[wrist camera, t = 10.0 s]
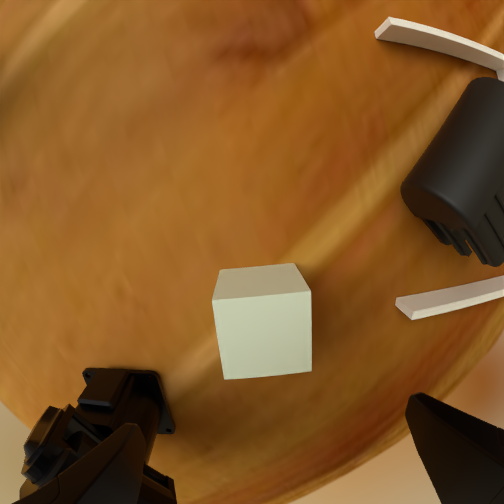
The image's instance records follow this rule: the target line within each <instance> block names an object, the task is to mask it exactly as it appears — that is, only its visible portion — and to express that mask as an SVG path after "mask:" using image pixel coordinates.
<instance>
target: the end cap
mask: <svg viewBox="0 0 504 504" xmlns="http://www.w3.org/2000/svg"><path fill="white" fill-rule="evenodd" d="M401 195H402V198H403V200H404V202H405V203H406V205H407V206H408V208H409V209H410V211H411V212H412V213H413V214H414V216H416V217H420V218H421V219H422V220H423V221H424V223H425V224H426V225H427V226H428V227H429V229H430V230H431V231H432V232H433V233H434V235H435V236H436V237H437V238H438V240H439V241H440V242H441V243H443V244H445V245H450V244H452V245H453V246H454V248H455V249H456V250H457V252H459V254H460V255H466V256H470V254H471V253H472V251H471V250H470V248H469V247H468V245H467V244H466V242H465V240H467V241H468V243H469V244H470V246H471V247H472V249H473V250H474V252H475V253H476V255H477V256H478V258H479V260H480V261H481V263H482V264H484V265H485V264H488V265H490V266H493V267H497V266H500V265H501V264H502V263H503V262H504V82H503V81H501V80H498V79H495V78H491V77H481V78H476V79H474V80H472V81H471V82H470V83H469V84H468V86H467V87H466V89H465V91H464V92H463V94H462V95H461V97H460V99H459V100H458V102H457V103H456V105H455V107H454V108H453V110H452V111H451V113H450V114H449V116H448V118H447V119H446V121H445V122H444V124H443V125H442V127H441V128H440V130H439V131H438V133H437V134H436V136H435V137H434V139H433V140H432V142H431V143H430V145H429V146H428V147H427V149H426V150H425V152H424V153H423V155H422V156H421V158H420V159H419V160H418V162H417V163H416V165H415V166H414V167H413V169H412V170H411V172H410V173H409V174H408V176H407V177H406V178H405V180H404V181H403V183H402V185H401Z"/></svg>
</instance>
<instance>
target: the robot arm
mask: <svg viewBox="0 0 504 504" xmlns="http://www.w3.org/2000/svg"><path fill="white" fill-rule="evenodd" d="M82 374H83V377H84V380H85V382H86V384H87V386H86V388H85V389H84V391H83V392H82V394H81V395H80V397H79V398H78V400H77V401H78V403H79V404H78V405H77V407H76V409H75V408H74V407H73V406H71V405H70V404H68V405H67V406H66V407H65V408H63V409H60V408H59V409H58V408H55V407H52V406H49V407H48V408H47V409H46V410H45V412H44V413H43V415H42V416H41V417H40V419H39V420H38V421H37V423H36V424H35V426H34V427H33V429H32V431H31V433H30V435H29V436H28V438H27V440H26V442H25V444H24V451H25V455H26V456H25V460H24V465H23V468H22V472H21V474H22V475H24V476H25V477H26V478H27V479H26V481H25V482H24V483H23V485H22V486H21V488H20V500H18V501H16V502H14V503H12V504H177V500H176V494H175V487H174V480H173V479H172V478H170V477H168V476H164V475H163V474H161V473H159V472H158V471H156V470H154V469H153V468H151V467H150V466H148V461H149V458H150V455H151V451H152V448H153V445H154V441H155V438H156V435H157V434H173V433H174V432H175V425H174V422H173V419H172V416H171V413H170V410H169V407H168V404H167V401H166V398H165V395H164V392H163V389H162V386H161V382H160V379H159V376H158V374H157V373H156V372H154V371H151V370H127V369H106V368H99V369H95V368H86V369H85V370H84V371H83V373H82ZM88 374H89V375H88ZM149 376H151V377H153V378H154V379H152V378H150V377H149ZM405 417H406V420H407V423H408V426H409V429H410V431H411V434H412V437H413V440H414V443H415V446H416V449H417V451H418V454H419V456H420V458H421V460H422V462H423V464H424V466H425V469H426V471H427V473H428V475H429V477H430V479H431V481H432V484H433V486H434V488H435V490H436V492H437V495H438V497H439V499H440V501H441V504H504V430H503V429H501V428H497V427H496V426H494V425H492V424H489V423H487V422H485V421H483V420H480V419H478V418H476V417H474V416H472V415H469V414H467V413H465V412H463V411H461V410H458V409H456V408H454V407H452V406H450V405H448V404H445V403H443V402H441V401H439V400H437V399H435V398H433V397H431V396H429V395H427V394H425V393H422V392H419V393H416V394H412V395H411V396H410V397H409V400H408V404H407V408H406V412H405ZM168 428H169V429H168Z"/></svg>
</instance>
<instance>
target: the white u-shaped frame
mask: <svg viewBox="0 0 504 504" xmlns="http://www.w3.org/2000/svg"><path fill="white" fill-rule="evenodd" d="M375 36H376V39H380V40H386V41H392V42H397V43H403V44H408V45H412V46H417V47H421V48H425V49H429V50H433V51H437V52H441V53H445V54H448V55H451V56H455V57H458V58H461V59H464V60H467V61H470V62H473V63H476V64H479V65H482V66H485V67H487V68H490V69H492V70H495V71H496V72H497V76H498V80H501V81H503V82H504V54H501V53H499V52H497V51H495V50H493V49H490V48H488V47H486V46H483V45H481V44H478V43H476V42H473V41H471V40H468V39H465V38H463V37H460V36H457V35H454V34H451V33H448V32H445V31H442V30H439V29H436V28H432V27H429V26H425V25H422V24H418V23H414V22H410V21H406V20H402V19H397V18H392V17H388V18H387V19H386V20H385V21H384V22H383V24H382V25H381V26H380V27H379V28H378V29H377V30H376V31H375ZM503 296H504V275H503V276H499V277H495V278H491V279H487V280H482V281H478V282H473V283H469V284H464V285H460V286H455V287H450V288H445V289H440V290H435V291H430V292H425V293H420V294H414V295H409V296H403V297H397V298H396V304H395V306H396V307H398V308H399V309H400V310H401V311H402V312H403V313H404V314H405V315H407V316H408V317H409V318H410V319H411V320H415V319H420V318H424V317H428V316H433V315H437V314H441V313H445V312H449V311H453V310H457V309H461V308H465V307H468V306H472V305H476V304H479V303H483V302H486V301H490V300H493V299H496V298H500V297H503Z"/></svg>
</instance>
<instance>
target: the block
mask: <svg viewBox="0 0 504 504" xmlns="http://www.w3.org/2000/svg"><path fill="white" fill-rule="evenodd" d="M212 304H213V311H214V318H215V325H216V331H217V338H218V344H219V350H220V356H221V362H222V368H223V374H224V380H225V379H241V378H254V377H265V376H275V375H285V374H293V373H301V372H308V371H312V319H311V290H310V288H309V287H308V285H307V284H306V282H305V280H304V279H303V277H302V275H301V274H300V272H299V270H298V269H297V267H296V265H295V264H294V263H289V264H278V265H268V266H257V267H246V268H235V269H223V270H220V272H219V276H218V279H217V283H216V287H215V291H214V294H213V298H212Z"/></svg>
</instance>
